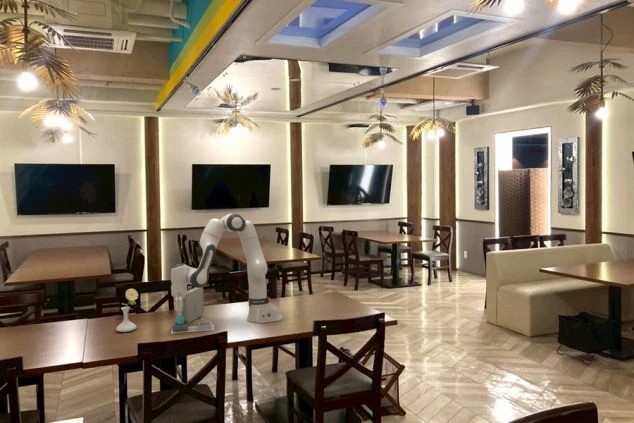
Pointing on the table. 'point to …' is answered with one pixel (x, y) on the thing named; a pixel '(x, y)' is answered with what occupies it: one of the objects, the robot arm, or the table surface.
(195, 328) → the board
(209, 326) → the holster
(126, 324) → the flower in vase
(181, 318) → the plug
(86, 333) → the table surface
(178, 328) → the port
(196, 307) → the network device
